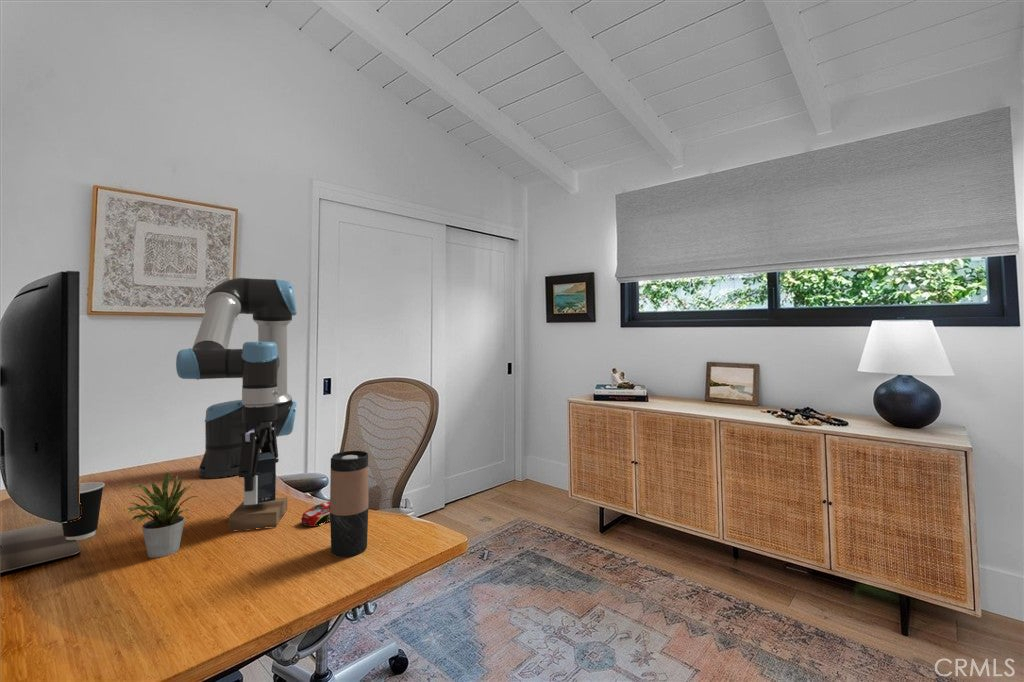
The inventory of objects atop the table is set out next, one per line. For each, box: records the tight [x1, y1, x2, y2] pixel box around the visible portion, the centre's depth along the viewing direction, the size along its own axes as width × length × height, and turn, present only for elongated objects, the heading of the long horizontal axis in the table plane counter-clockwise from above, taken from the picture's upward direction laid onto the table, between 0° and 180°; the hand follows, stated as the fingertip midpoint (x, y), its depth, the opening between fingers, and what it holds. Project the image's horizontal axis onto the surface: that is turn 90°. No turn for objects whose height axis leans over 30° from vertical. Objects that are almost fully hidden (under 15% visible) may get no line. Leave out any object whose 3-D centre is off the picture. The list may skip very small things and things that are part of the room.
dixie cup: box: [61, 481, 106, 541], centre depth 100 cm, size 8×8×11 cm
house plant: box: [119, 471, 199, 559], centre depth 93 cm, size 14×14×16 cm
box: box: [252, 451, 277, 505], centre depth 108 cm, size 8×6×11 cm
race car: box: [300, 501, 330, 527], centre depth 111 cm, size 13×5×4 cm, turn 143°
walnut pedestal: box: [228, 497, 288, 532], centre depth 108 cm, size 10×10×4 cm
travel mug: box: [329, 450, 369, 558], centre depth 94 cm, size 8×8×20 cm
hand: (259, 496), depth 108 cm, fingers closed on box, 9 cm apart
